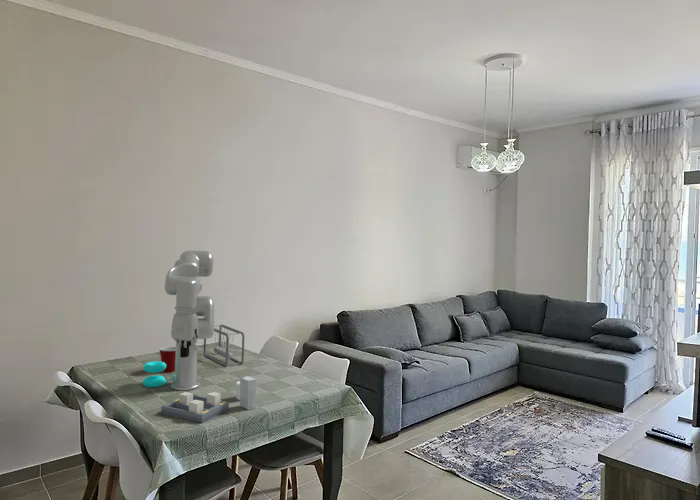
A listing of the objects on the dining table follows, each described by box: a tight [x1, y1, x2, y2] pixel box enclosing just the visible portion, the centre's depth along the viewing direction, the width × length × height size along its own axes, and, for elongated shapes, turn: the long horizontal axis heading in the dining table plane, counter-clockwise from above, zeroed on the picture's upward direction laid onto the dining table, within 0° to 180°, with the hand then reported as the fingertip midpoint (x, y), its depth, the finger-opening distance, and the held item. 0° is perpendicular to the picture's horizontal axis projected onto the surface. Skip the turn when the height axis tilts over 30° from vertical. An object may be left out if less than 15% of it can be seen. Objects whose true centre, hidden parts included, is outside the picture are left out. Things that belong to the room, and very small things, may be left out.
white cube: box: [189, 400, 204, 414], centre depth 183 cm, size 4×4×4 cm
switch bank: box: [160, 394, 230, 424], centre depth 189 cm, size 20×16×3 cm
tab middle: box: [178, 391, 194, 405], centre depth 191 cm, size 4×4×4 cm
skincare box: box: [239, 375, 257, 410], centre depth 196 cm, size 6×4×12 cm
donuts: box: [142, 360, 167, 388], centre depth 220 cm, size 10×10×10 cm
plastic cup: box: [158, 346, 176, 373], centre depth 242 cm, size 11×11×12 cm
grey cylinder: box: [235, 380, 240, 401], centre depth 207 cm, size 7×7×7 cm
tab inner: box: [206, 391, 222, 405], centre depth 192 cm, size 4×4×4 cm
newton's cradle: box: [203, 324, 245, 367], centre depth 267 cm, size 30×10×18 cm, turn 40°
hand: (184, 356), depth 186 cm, fingers closed
